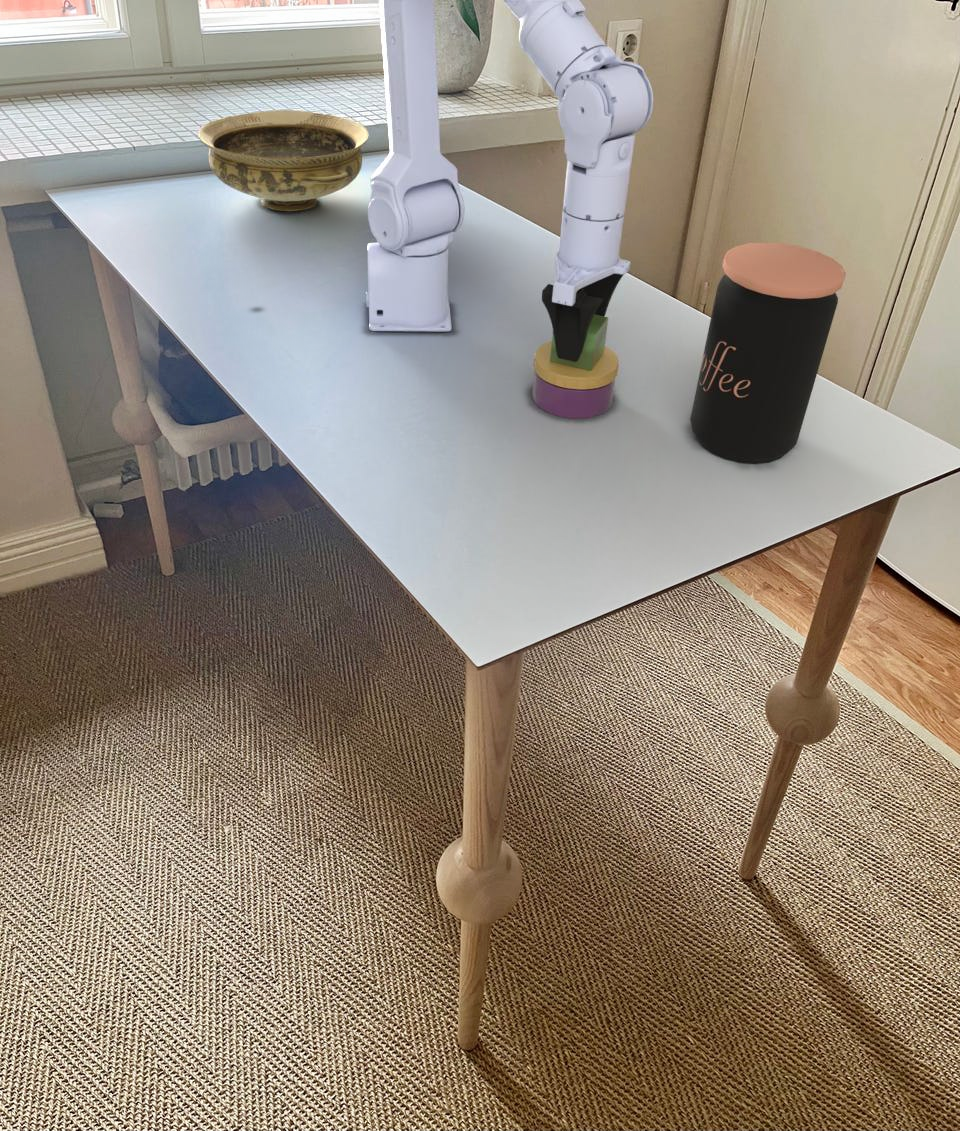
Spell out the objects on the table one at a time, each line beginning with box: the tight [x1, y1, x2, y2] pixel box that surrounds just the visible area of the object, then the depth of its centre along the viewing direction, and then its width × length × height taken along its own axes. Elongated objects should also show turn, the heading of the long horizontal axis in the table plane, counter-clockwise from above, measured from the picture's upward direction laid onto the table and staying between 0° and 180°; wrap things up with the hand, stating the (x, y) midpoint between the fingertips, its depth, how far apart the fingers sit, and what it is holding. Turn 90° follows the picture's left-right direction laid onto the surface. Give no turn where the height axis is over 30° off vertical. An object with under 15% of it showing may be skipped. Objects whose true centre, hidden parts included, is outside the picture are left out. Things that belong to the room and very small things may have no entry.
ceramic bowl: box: [197, 109, 370, 212], centre depth 141 cm, size 30×24×10 cm
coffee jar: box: [689, 241, 847, 465], centre depth 92 cm, size 11×11×18 cm
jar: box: [531, 370, 616, 420], centre depth 101 cm, size 8×8×4 cm
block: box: [550, 314, 609, 371], centre depth 98 cm, size 4×4×4 cm
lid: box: [532, 340, 620, 389], centre depth 100 cm, size 9×9×1 cm
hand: (578, 345), depth 99 cm, fingers open, 6 cm apart
